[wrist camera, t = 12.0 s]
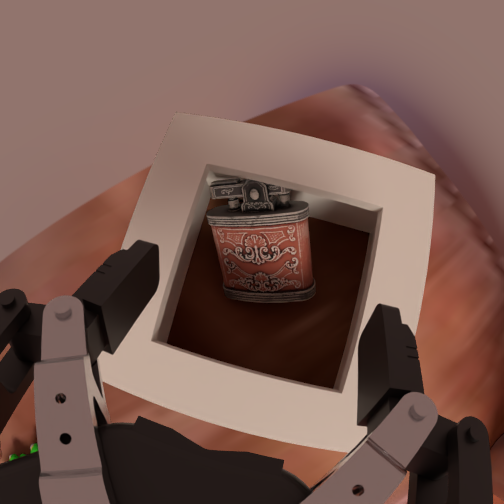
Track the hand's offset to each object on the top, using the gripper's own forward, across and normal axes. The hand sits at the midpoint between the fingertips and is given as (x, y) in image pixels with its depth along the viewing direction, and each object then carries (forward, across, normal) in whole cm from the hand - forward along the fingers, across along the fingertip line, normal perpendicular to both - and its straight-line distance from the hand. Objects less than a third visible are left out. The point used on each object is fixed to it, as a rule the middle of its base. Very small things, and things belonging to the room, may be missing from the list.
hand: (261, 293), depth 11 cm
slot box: (+14, 0, +12) cm, 18 cm away
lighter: (+13, 0, +11) cm, 17 cm away
